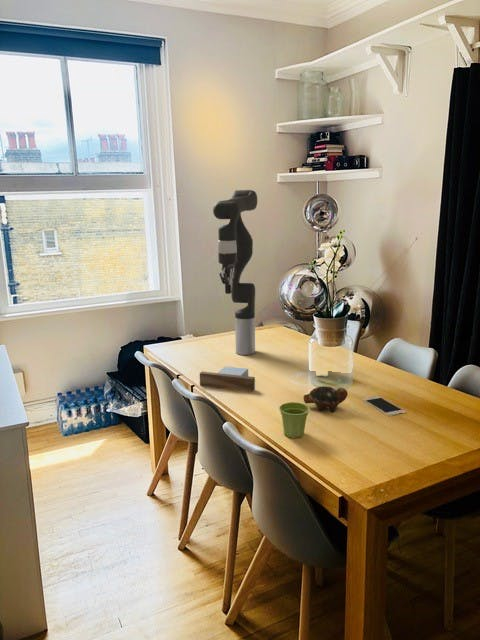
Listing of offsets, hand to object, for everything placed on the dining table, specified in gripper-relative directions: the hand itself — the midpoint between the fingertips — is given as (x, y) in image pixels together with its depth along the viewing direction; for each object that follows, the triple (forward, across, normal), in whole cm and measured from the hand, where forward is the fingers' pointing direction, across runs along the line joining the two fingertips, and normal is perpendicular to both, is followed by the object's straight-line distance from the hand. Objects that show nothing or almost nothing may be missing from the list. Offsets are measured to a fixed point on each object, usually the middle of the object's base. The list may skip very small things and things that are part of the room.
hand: (228, 293), depth 215 cm
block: (+33, +14, +6) cm, 37 cm away
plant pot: (+33, +52, +42) cm, 75 cm away
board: (+33, +21, +7) cm, 40 cm away
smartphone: (+34, +21, +66) cm, 77 cm away
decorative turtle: (+33, +29, +47) cm, 64 cm away
